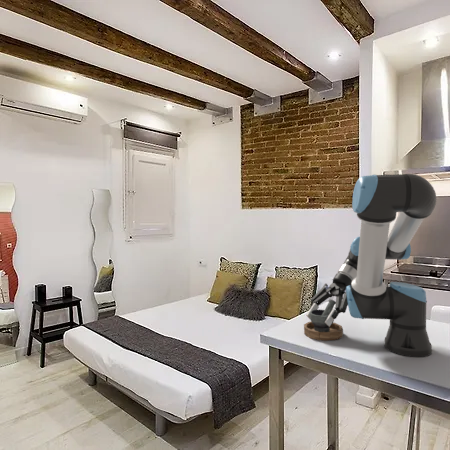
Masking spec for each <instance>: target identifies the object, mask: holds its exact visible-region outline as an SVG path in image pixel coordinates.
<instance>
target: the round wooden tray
mask: <svg viewBox="0 0 450 450" xmlns="http://www.w3.org/2000/svg"><path fill="white" fill-rule="evenodd" d="M303 330H304V331H303V332H304V335H305V336H306V337H308V338H309V339H313V340H316V341H323V342H325V341H327V342H328V341H329V342H330V341H337V340H340V339H342V337H343V334H344V328H343V326H342V325H341V324H339V323H336V322H333V323H332V325H330V331H328V332H318V331H315V330H314V325H313V323H312V322H311V321H308V322H306V323H304V324H303Z"/></svg>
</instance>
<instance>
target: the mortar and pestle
mask: <svg viewBox="0 0 450 450" xmlns="http://www.w3.org/2000/svg"><path fill="white" fill-rule="evenodd" d="M327 303H328V304H327V305H326V307H325V308H324V309H317V310H312V311H310V312H309V311H308V312H309V316H310V319H309V320H310V322H312V323H313V325H314V330H315V331H318V332H328V331H330V327H329V326H328V325H327V324H326V323H325V321H326V319H327V318H328V316H329V314H330V313H331V311H332V310H333V309H334V307H335V306H336V300H334V299H331V298H330V299H329V300H328V302H327ZM332 323H335V319H334V320H333V322H332ZM331 325H332V324H331Z"/></svg>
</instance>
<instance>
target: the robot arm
mask: <svg viewBox="0 0 450 450" xmlns="http://www.w3.org/2000/svg"><path fill="white" fill-rule="evenodd" d="M351 202H352V203H351V207H352V211H353V212H354V213H356V217H357V218H358V219H359V220H360V232H359V233H360V234H359V236H357V237H355V238H354V239H353V241H352V242H351V244H350V247H349V251H348V255H347V257H346V258H345V260H344V261H343V263H342V265H340V266H339V267H340V268H339V269H338V270H337V273H336V274H335V275H334V277H333V279H332V283H331V284H328V283H324V284H323V285H322V287H321V288H320V290H318V292H317V293H316V294H314V296H313V297H311V299H310V301H311V302H312V304H311V306H310V307H309V309H308V312H307V313H306V315H305V316H306V317H307V318H308V320H310V316H309V312H310V311H312V310H319V308H320V305H321V304H323V303H324V302H326V301H327V300H328V299H329V298H332V297H335V302H336V304H335V305H334V307H333V310H332V311H331V313H330V314H329V316H328V318H327V319H326V321H325V323H326V324H327V325H328V326H329V327H330V325H331V324H332V322H333V320H334V321H335V320H336V319H337V318H338V316H339V314H341V313H343V314H345V313H346V311H347V308H348V312H349V315H350V316H351V317H352V318H354V319H360V320H365V319H369V320H370V319H371V320H389V326H388V328H387V332H386V336H385V337H384V343H383V344H384V347H385V348H386V349H387V350H388V351H390V352H392V353H393V354H394V353H395V354H397V355H402V356H406V357H413V358H419V357H422V358H423V357H428V356H430V355H431V354H432V351H433V346H432V343H431V341H430V338H429V337H430V336H429V334H428V331H427V302H428V301H427V293H426V290H425V289H424V288H423V287H421V286H419V285H417V284H416V285H415V284H410V283H406V282H401V281H400V282H399V281H391V282H390V283H389V285H388V286H387V285H386V283H385V282H384V281H383V280H384V272H385V265H386V260H397V261H400V260H408V259H410V257H411V253H412V247H411V241H412V240H413V238H414V236H415V235H416V233H417V231H418V230H419V228H420V226H421V225H422V223H423V221H424V219H426V218H429V217H430V215H432V213H433V212H434V210H435V208H436V206H437V193H436V190H435V189H434V186H433V184H431V183H430V181H428V179H426V178H425V177H422V176H420V175H418V174H414V173H403V174H400V173H398V174H396V173H395V174H371V175H363V176H360V177H359V178H358V179H357V181H356V182H355V185H354V188H353V193H352V201H351ZM397 213H398V216H397ZM392 222H395V223H394V224H393V226H392V228H391V230H390V224H391V223H392ZM333 323H334V322H333Z"/></svg>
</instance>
